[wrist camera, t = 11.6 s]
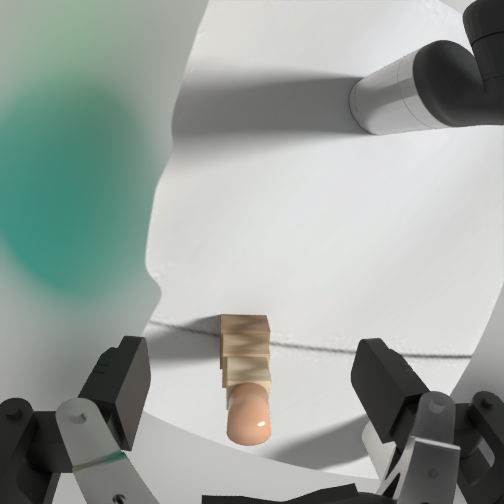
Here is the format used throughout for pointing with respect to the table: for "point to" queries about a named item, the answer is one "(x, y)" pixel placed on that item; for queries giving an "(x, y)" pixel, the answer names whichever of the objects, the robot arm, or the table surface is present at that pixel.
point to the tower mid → (243, 348)
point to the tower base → (243, 327)
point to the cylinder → (248, 415)
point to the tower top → (247, 372)
